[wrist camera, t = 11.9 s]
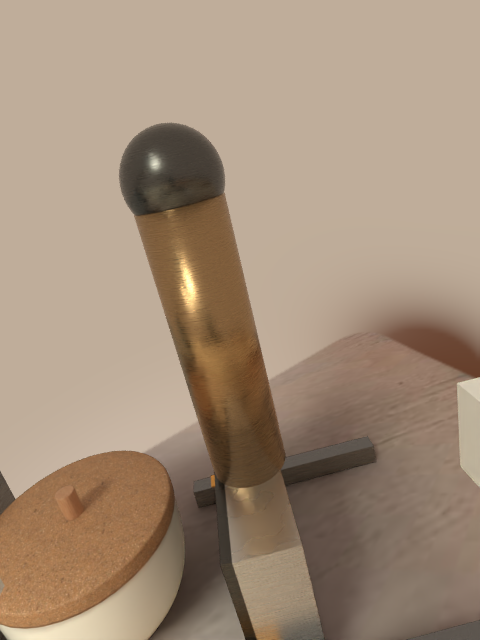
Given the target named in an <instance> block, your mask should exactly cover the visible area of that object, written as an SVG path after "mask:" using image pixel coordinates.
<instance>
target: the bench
mask: <svg viewBox="0 0 480 640" xmlns="http://www.w3.org/2000/svg"><path fill="white" fill-rule="evenodd" d="M372 462H376V459H375V452H374V446H373V444H372V443H371V441H370V439H369V438H368V436H367V437H363V438H359V439H355V440H352V441H348V442H344V443H340V444H336V445H332V446H328V447H325V448H321V449H317V450H313V451H309V452H305V453H301V454H298V455H294V456H290V457H286V458H285V462H284V465H283V467H282V468H281V473H282V477H283V480H284V484H285V485H288V484H291V483H295V482H299V481H303V480H307V479H311V478H315V477H318V476H322V475H326V474H330V473H334V472H338V471H341V470H345V469H349V468H353V467H357V466H361V465H364V464H368V463H372ZM194 495H195V498H196V501H197V504H198V507H203V506H207V505H211V504H215V503H216V491H215V475H211V477H209V478H205V479H201V480H197V481H194ZM15 500H16V499H15V498H14V496H13V494H12V492H11V490H10V488H9V487H8V485H7V483H6V481H5V479H4V477H3V476H2V474H1V472H0V515H1V514H2V513H3V512H4V510H5V509H6V508H7V507H8V506H10V505H11V504H12V503H13V502H14V501H15ZM0 640H7V638H6V637H5V636H4V635H3V633H2V632H1V631H0ZM407 640H480V620H478V621H475V622H471V623H467V624H463V625H460V626H456V627H452V628H448V629H445V630H441V631H437V632H434V633H430V634H426V635H422V636H419V637H415V638H411V639H407Z"/></svg>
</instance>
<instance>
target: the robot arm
mask: <svg viewBox="0 0 480 640" xmlns="http://www.w3.org/2000/svg"><path fill="white" fill-rule="evenodd" d="M457 397H458V423H459V448H460V467H461V468H462V469H463V470H464V471H465V472H466V473H467V474H468V476H469V477H470V478H471V479H472V480H473V481H474V482H475V483H476V484H477V486H478V487H479V488H480V377H479V378H475V379H471V380H467V381H463V382H459V383H457ZM4 586H5V585H4V584H3V582H2V580H1V579H0V595H1V592H2V590H3V588H4Z"/></svg>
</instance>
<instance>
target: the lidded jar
mask: <svg viewBox="0 0 480 640" xmlns="http://www.w3.org/2000/svg"><path fill="white" fill-rule="evenodd" d="M184 561H185V542H184V533H183V527H182V522H181V516H180V512H179V509H178V506H177V502H176V500H175V496H174V490H173V485H172V483H171V480H170V477H169V475H168V473H167V471H166V469H165V468H164V466H163V465H162V464H161V463H160V462H159V461H157V460H156V459H155V458H153V457H151V456H149V455H146V454H144V453H139V452H135V451H112V452H107V453H102V454H97V455H93V456H90V457H87V458H84V459H81V460H79V461H76V462H74V463H71V464H69V465H67V466H65V467H63V468H61V469H59V470H57V471H55V472H53V473H52V474H50V475H49V476H47V477H45V478H43V479H42V480H40V481H39V482H37V483H36V484H35V485H33V486H32V487H31V488H29V489H28V490H27V491H25V492H24V493H23V494H22V495H21V496H19V497H18V498H17V499H16V500H15V501H14V502H13V503H12V504H11V505H10V506H8V507H7V508H6V509H5V510H4V512H3V513H2V514H1V515H0V579H1V580H2V582H3V584H4V585H5V586H4V588H3V590H2V592H1V595H0V631H1V632H2V633H3V635H4V636H5V637H6V638H7V640H148V639H149V638H150V637H151V636H152V635H153V633H154V632H155V631H156V629H157V628H158V626H159V625H160V624H161V622H162V621H163V619H164V618H165V616H166V615H167V613H168V612H169V610H170V608H171V606H172V604H173V602H174V599H175V597H176V594H177V592H178V589H179V586H180V583H181V579H182V574H183V568H184Z"/></svg>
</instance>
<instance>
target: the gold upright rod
mask: <svg viewBox="0 0 480 640" xmlns="http://www.w3.org/2000/svg"><path fill="white" fill-rule="evenodd" d="M119 180H120V187H121V191H122V195H123V197H124V200H125V201H126V203H127V205H128V207H129V208H130V210H131V211H132V212H133V214H134V217H135V220H136V223H137V226H138V230H139V233H140V236H141V239H142V242H143V246H144V249H145V252H146V255H147V258H148V261H149V265H150V268H151V271H152V274H153V277H154V281H155V284H156V287H157V290H158V293H159V297H160V299H161V303H162V306H163V309H164V313H165V316H166V319H167V322H168V325H169V329H170V332H171V335H172V338H173V341H174V345H175V347H176V351H177V354H178V357H179V360H180V364H181V367H182V370H183V373H184V376H185V380H186V383H187V386H188V389H189V392H190V396H191V399H192V402H193V405H194V408H195V412H196V415H197V418H198V421H199V424H200V427H201V431H202V434H203V437H204V440H205V443H206V447H207V450H208V453H209V456H210V459H211V463H212V466H213V469H214V475H215V491H216V506H217V521H218V536H219V551H220V565H221V568H222V571H223V574H224V577H225V580H226V583H227V586H228V589H229V592H230V595H231V598H232V601H233V603H234V606H235V609H236V612H237V615H238V618H239V621H240V624H241V627H242V630H243V633H244V636H245V639H246V640H325V639H324V635H323V631H322V626H321V622H320V618H319V614H318V610H317V605H316V601H315V597H314V593H313V589H312V584H311V580H310V576H309V572H308V568H307V563H306V559H305V555H304V551H303V547H302V543H301V539H300V536H299V532H298V529H297V525H296V522H295V518H294V515H293V511H292V508H291V505H290V501H289V498H288V494H287V491H286V487H285V484H284V480H283V477H282V473H281V468H282V467H283V465H284V462H285V450H284V446H283V442H282V438H281V433H280V429H279V425H278V420H277V416H276V412H275V408H274V403H273V399H272V395H271V390H270V386H269V382H268V377H267V373H266V369H265V365H264V361H263V356H262V352H261V348H260V343H259V339H258V335H257V330H256V326H255V322H254V317H253V313H252V309H251V305H250V300H249V296H248V292H247V287H246V283H245V279H244V274H243V270H242V266H241V262H240V257H239V253H238V249H237V244H236V240H235V236H234V231H233V227H232V223H231V219H230V214H229V210H228V206H227V202H226V198H225V193H224V188H225V174H224V168H223V164H222V161H221V159H220V157H219V154H218V152H217V151H216V149H215V147H214V146H213V145H212V144H211V142H210V141H209V140H208V139H207V138H206V137H205V136H204V135H202V134H201V133H200V132H198V131H196V130H195V129H193V128H190V127H188V126H186V125H181V124H177V123H161V124H157V125H154V126H151V127H149V128H146V129H145V130H143V131H142V132H140V133H139V134H138V135H137V136H135V137H134V138H133V139H132V141H131V142H130V143H129V145H128V146H127V148H126V149H125V152H124V154H123V156H122V160H121V163H120V170H119Z"/></svg>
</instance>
